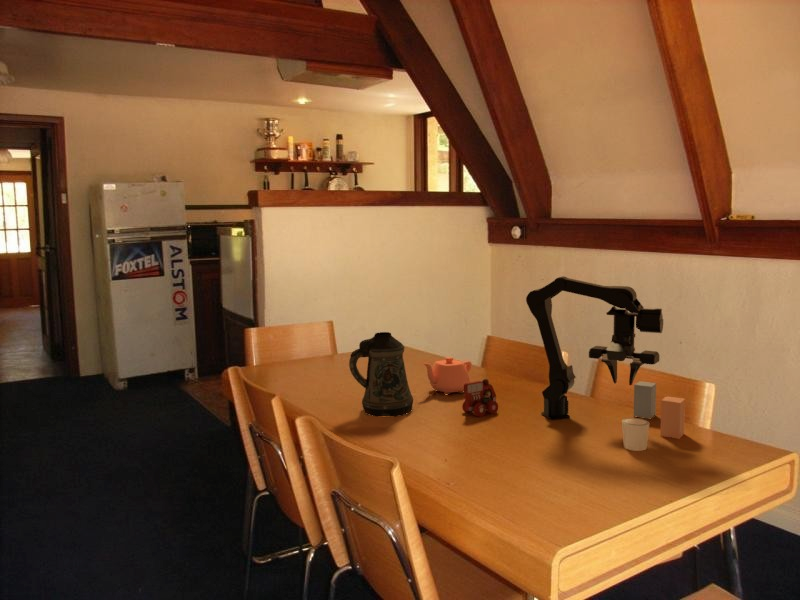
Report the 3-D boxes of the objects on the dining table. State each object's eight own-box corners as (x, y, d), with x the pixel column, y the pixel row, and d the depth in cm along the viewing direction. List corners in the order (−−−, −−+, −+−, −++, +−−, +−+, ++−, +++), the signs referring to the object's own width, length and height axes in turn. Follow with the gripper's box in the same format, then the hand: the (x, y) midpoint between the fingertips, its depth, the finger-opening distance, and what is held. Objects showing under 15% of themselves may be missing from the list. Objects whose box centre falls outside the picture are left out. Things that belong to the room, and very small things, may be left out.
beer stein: (424, 408, 218) (422, 332, 215) (381, 422, 204) (379, 341, 201) (387, 400, 230) (385, 327, 227) (344, 413, 216) (342, 335, 213)
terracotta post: (660, 435, 187) (661, 400, 186) (665, 430, 191) (666, 396, 190) (679, 438, 184) (680, 402, 183) (683, 433, 188) (685, 398, 187)
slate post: (633, 417, 205) (634, 384, 204) (638, 413, 209) (639, 381, 208) (650, 419, 202) (651, 386, 201) (655, 415, 206) (656, 383, 205)
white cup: (648, 444, 181) (649, 418, 180) (649, 452, 174) (649, 426, 173) (621, 441, 183) (622, 416, 182) (621, 450, 176) (621, 424, 175)
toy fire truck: (502, 411, 213) (502, 379, 212) (472, 419, 206) (472, 385, 205) (488, 407, 219) (487, 375, 218) (458, 414, 212) (457, 381, 211)
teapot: (413, 391, 241) (413, 357, 239) (461, 384, 250) (460, 351, 248) (433, 400, 229) (432, 364, 227) (482, 391, 238) (481, 357, 237)
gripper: (582, 332, 193) (581, 386, 195) (649, 338, 183) (647, 394, 184) (595, 326, 202) (594, 378, 204) (660, 331, 192) (659, 386, 193)
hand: (622, 384), depth 196 cm, fingers open, 4 cm apart
